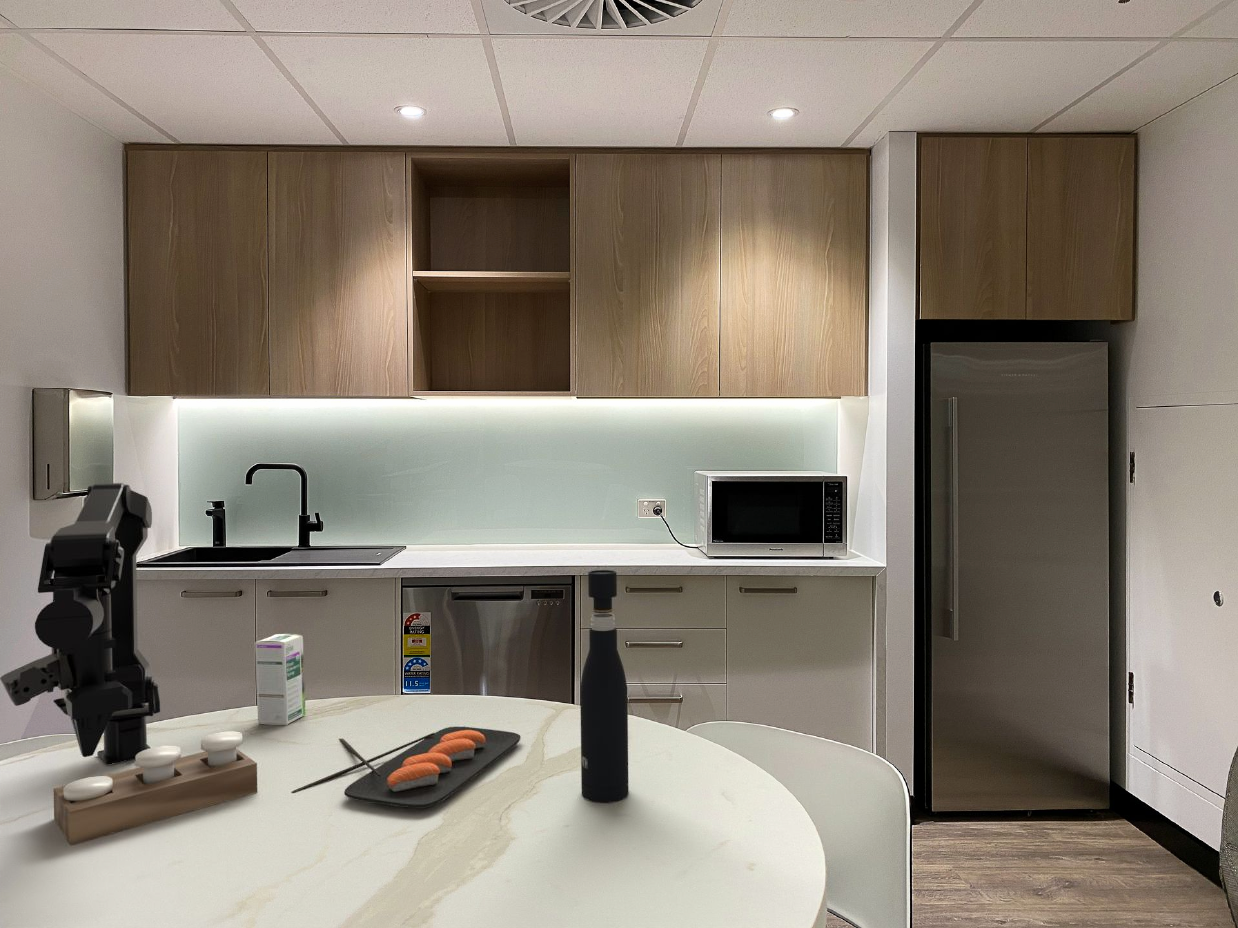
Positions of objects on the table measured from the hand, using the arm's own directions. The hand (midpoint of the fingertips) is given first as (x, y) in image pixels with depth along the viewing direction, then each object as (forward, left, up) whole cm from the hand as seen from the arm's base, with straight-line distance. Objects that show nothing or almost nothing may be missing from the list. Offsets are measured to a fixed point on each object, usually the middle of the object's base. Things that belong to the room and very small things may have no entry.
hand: (87, 755), depth 105 cm
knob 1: (0, 0, -8) cm, 8 cm away
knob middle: (0, +8, -6) cm, 10 cm away
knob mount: (0, +8, -9) cm, 12 cm away
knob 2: (0, +16, -6) cm, 17 cm away
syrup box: (-24, +34, -9) cm, 42 cm away
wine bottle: (+39, +53, -9) cm, 66 cm away
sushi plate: (+9, +38, -10) cm, 40 cm away
